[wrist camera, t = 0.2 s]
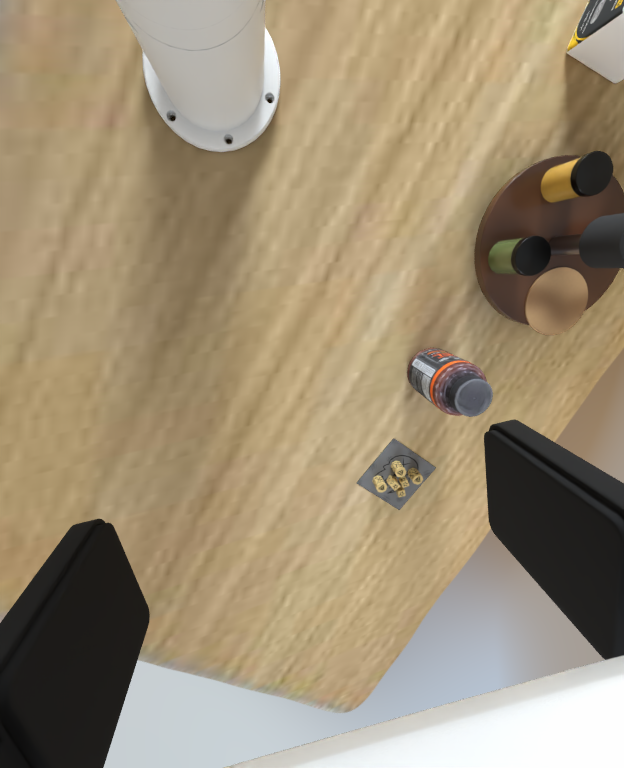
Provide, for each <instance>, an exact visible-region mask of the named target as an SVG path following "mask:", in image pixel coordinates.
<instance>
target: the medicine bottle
mask: <svg viewBox="0 0 624 768" xmlns="http://www.w3.org/2000/svg"><path fill="white" fill-rule="evenodd" d="M566 52H567V54H569V55H570V56H572V57H573V58H575V59H577V60H578V61H580V62H581V63H583V64H584V65H586V66H588V67H589V68H591V69H592V70H594V71H595V72H597V73H599V74H600V75H602V76H603V77H605V78H607V79H608V80H610V81H611V82H613V83H618V82H620V81H622V80H624V0H589V1H588V3H587V6H586V8H585V10H584V12H583V14H582V16H581V19H580V21H579V23H578V25H577V27H576V30H575V32H574V34H573V36H572V38H571V40H570V43H569V45H568V47H567V50H566Z"/></svg>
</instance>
